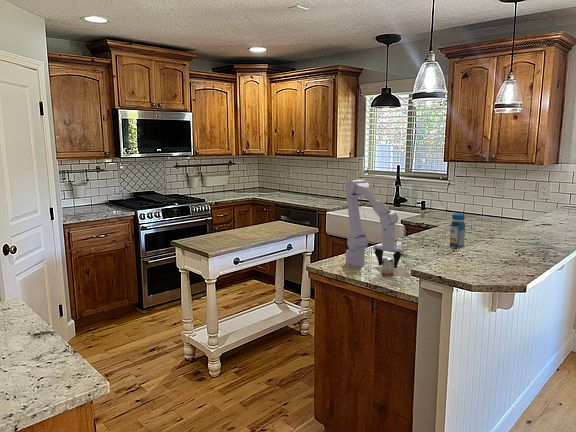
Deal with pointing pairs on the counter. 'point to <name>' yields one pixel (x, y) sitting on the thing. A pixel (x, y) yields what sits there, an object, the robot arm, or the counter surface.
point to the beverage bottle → (457, 231)
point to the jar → (387, 272)
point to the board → (397, 272)
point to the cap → (388, 264)
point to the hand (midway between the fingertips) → (387, 266)
